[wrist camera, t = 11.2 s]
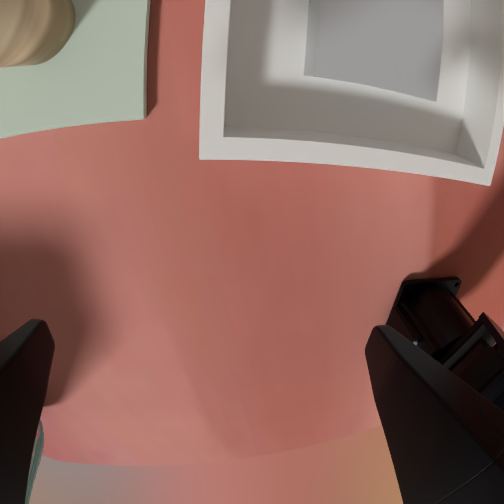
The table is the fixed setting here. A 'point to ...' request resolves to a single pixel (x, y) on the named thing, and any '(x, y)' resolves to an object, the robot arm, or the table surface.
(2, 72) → the green pad
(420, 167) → the tray
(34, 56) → the birch cylinder
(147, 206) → the table surface
